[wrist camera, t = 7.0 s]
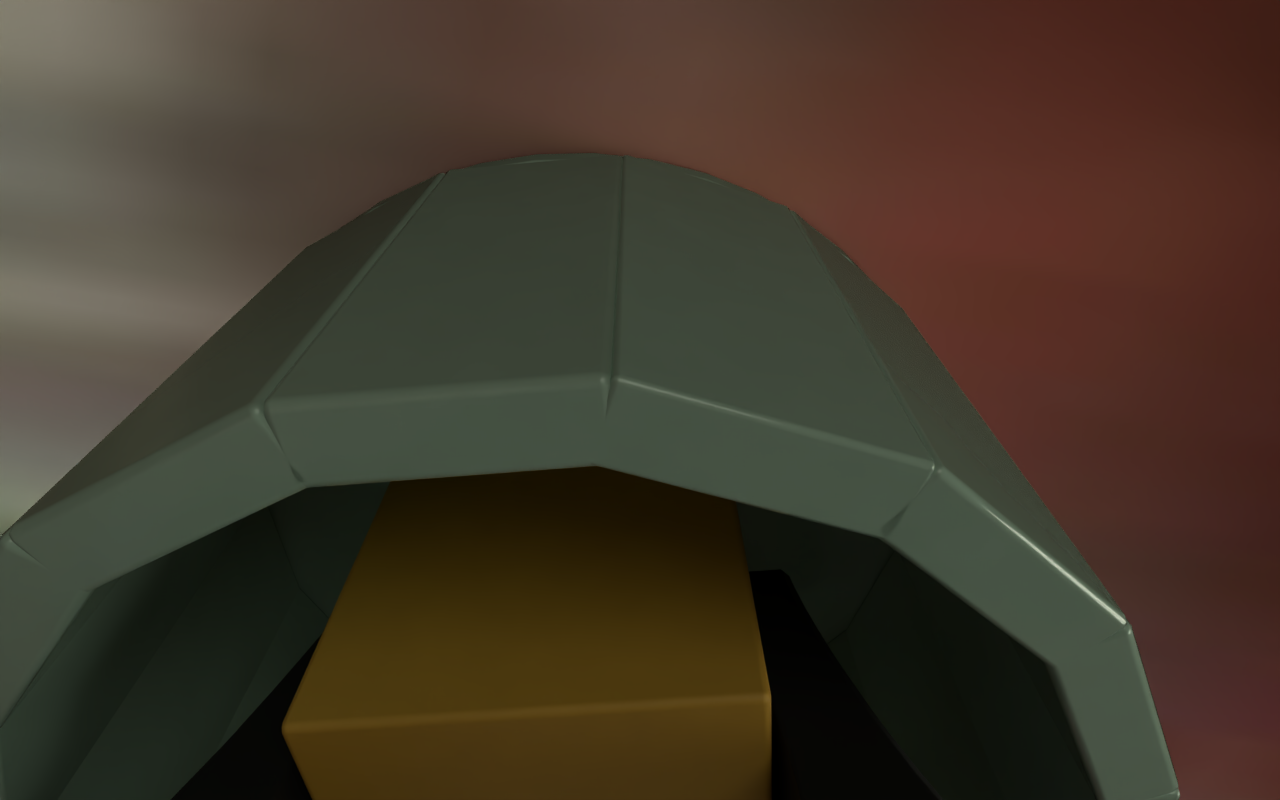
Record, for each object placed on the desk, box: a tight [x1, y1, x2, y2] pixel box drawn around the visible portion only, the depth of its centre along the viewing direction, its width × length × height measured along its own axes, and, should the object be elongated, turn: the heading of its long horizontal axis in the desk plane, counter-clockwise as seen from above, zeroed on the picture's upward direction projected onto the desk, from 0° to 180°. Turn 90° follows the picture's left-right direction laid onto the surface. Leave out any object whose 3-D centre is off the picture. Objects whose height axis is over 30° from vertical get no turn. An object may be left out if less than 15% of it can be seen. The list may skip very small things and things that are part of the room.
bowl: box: [0, 153, 1180, 800], centre depth 11 cm, size 11×11×6 cm
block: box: [282, 466, 772, 800], centre depth 10 cm, size 4×4×4 cm
